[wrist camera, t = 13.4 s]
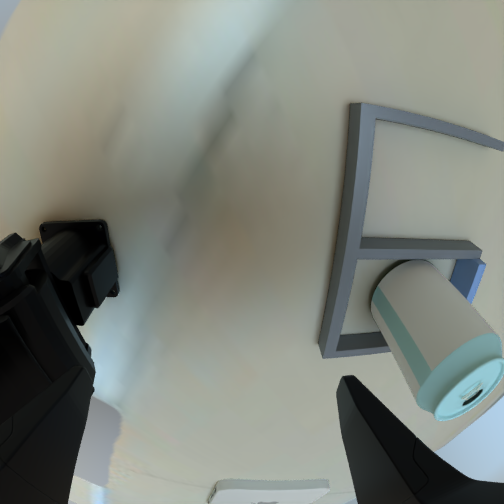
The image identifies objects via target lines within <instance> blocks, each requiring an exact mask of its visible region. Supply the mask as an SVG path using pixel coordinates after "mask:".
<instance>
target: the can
mask: <svg viewBox="0 0 504 504" xmlns="http://www.w3.org/2000/svg"><path fill="white" fill-rule="evenodd" d="M371 313H372V316H373V318H374V320H375V322H376V323H377V325H378V327H379V329H380V331H381V333H382V335H383V336H384V338H385V340H386V342H387V344H388V346H389V348H390V350H391V352H392V354H393V356H394V358H395V359H396V361H397V363H398V365H399V367H400V369H401V371H402V373H403V375H404V377H405V379H406V382H407V384H408V386H409V388H410V390H411V392H412V394H413V396H414V398H415V400H416V403H417V404H418V406H419V407H420V408H422V409H423V410H426V411H428V412H431V413H433V414H434V418H435V419H436V420H438V421H447V420H451V419H454V418H456V417H459V416H461V415H463V414H464V413H466V412H468V411H469V410H471V409H472V408H474V407H475V406H476V405H478V404H479V403H480V402H481V401H483V400H484V399H485V398H486V397H487V396H488V395H489V394H490V393H491V392H492V391H493V389H494V388H495V387H496V386H497V384H498V383H499V382H500V380H501V378H502V377H503V375H504V359H503V358H502V343H501V340H500V337H499V336H498V335H497V333H496V332H495V331H494V330H493V329H492V327H491V326H490V325H489V324H488V323H487V322H486V320H485V319H484V318H483V317H482V316H481V315H480V314H479V313H478V311H477V310H476V309H475V308H474V307H473V306H472V305H471V304H470V303H469V301H468V300H467V299H466V298H465V297H464V296H463V295H462V294H461V293H460V292H459V291H458V290H457V289H456V288H455V287H454V286H453V284H452V283H451V282H450V281H449V280H448V279H447V278H446V277H445V276H444V275H443V274H442V273H441V272H440V271H439V270H438V269H437V268H436V267H435V266H434V265H432V264H431V263H430V262H427V261H424V260H412V261H408V262H405V263H403V264H401V265H399V266H397V267H395V268H394V269H393V270H391V271H390V272H389V273H388V274H387V275H386V276H385V277H384V278H383V279H382V280H381V282H380V283H379V285H378V286H377V288H376V290H375V292H374V294H373V297H372V301H371Z"/></svg>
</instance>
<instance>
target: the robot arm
mask: <svg viewBox="0 0 504 504" xmlns="http://www.w3.org/2000/svg"><path fill="white" fill-rule="evenodd" d="M98 225H101V226H102V229H100V228H99V226H98ZM44 227H45V228H46V230H45V229H44ZM39 230H40V234H41V238H42V243H43V244H42V245H41V242H40V240H39V238H37V239H33V240H27V241H25V238H24V239H23V238H22V237H20V236H19V235H18V234H17V233H13V234H10V235H8V236H7V237H6V238H4V239H3V240H2V241H0V504H68V499H69V494H70V489H71V484H72V479H73V473H74V469H75V464H76V460H77V456H78V452H79V448H80V444H81V440H82V436H83V433H84V429H85V425H86V421H87V416H88V410H89V405H90V399H91V396H92V394H93V392H94V390H95V389H94V387H93V382H94V377H95V373H96V371H95V366H94V362H93V360H92V359H91V348H90V346H89V345H88V343H86V342H85V340H84V338H83V337H82V335H81V333H80V331H79V329H78V328H77V326H76V325H79V326H83V325H84V324H85V322H86V321H87V319H88V318H89V316H90V314H91V313H92V311H93V310H94V308H99V307H100V305H101V304H102V302H103V301H104V299H105V297H116V296H118V294H119V292H120V290H119V285H118V281H117V279H118V272H117V267H116V263H115V257H114V252H113V249H112V247H111V246H110V240H109V235H108V228H107V224H106V222H105V221H103V220H76V221H54V222H44V223H42V224H41V225H40V227H39ZM111 289H112V290H114V291H115V292H113V291H112V290H111ZM336 397H337V404H338V412H339V420H340V428H341V434H342V439H343V443H344V447H345V451H346V455H347V459H348V463H349V467H350V472H351V476H352V480H353V485H354V489H355V493H356V498H357V502H358V504H504V483H498V482H487V481H479V480H474V479H471V478H469V477H467V476H465V475H464V474H462V473H461V472H459V471H458V470H456V469H455V468H454V467H452V466H451V465H450V464H448V463H447V462H446V461H444V460H443V459H441V458H440V457H439V456H438V455H437V454H435V453H434V452H433V451H432V450H431V449H429V448H428V447H427V446H426V445H425V444H424V443H423V442H422V441H421V440H420V439H419V438H418V437H417V438H416V436H415V435H414V434H413V433H412V432H411V431H410V430H409V429H408V428H407V427H406V426H405V425H404V424H403V423H402V422H401V421H400V420H399V419H398V418H397V417H396V416H395V415H394V414H393V413H392V412H391V411H390V410H389V409H388V408H387V407H386V406H385V405H384V404H383V403H382V402H381V401H380V400H379V399H378V398H377V397H376V396H374V395H373V394H372V393H371V392H370V391H369V390H368V389H367V388H366V387H365V386H364V385H363V384H362V383H361V382H360V381H359V380H358V379H357V378H356V377H355V376H354V375H347V376H343V377H342V378H341V380H340V383H339V386H338V388H337V392H336Z"/></svg>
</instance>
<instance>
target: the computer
mask: <svg viewBox="0 0 504 504" xmlns="http://www.w3.org/2000/svg"><path fill="white" fill-rule="evenodd" d="M329 491H330V486H329V480H327V479H306V480H250V479H224V480H220V481H218V482H217V484H216V486H215V488H214V490H213V492H212V494H211V495H210V497H209V499H208V504H311V503H313V502H315V501H316V500H318V499H319V498H321V497H322V496H324V495H325V494H326V493H328V492H329Z"/></svg>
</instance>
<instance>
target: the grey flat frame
mask: <svg viewBox="0 0 504 504" xmlns="http://www.w3.org/2000/svg"><path fill="white" fill-rule="evenodd" d="M375 119H378V120H384V121H389V122H395V123H400V124H405V125H409V126H414V127H418V128H423V129H427V130H431V131H435V132H439V133H443V134H447V135H450V136H454V137H457V138H461V139H464V140H467V141H471V142H474V143H477V144H480V145H483V146H486V147H489V148H493V149H496V150H499V151H503V150H504V142H502V141H500V140H497V139H495V138H492V137H489V136H487V135H484V134H481V133H478V132H476V131H473V130H470V129H467V128H464V127H461V126H457V125H454V124H451V123H447V122H444V121H441V120H437V119H433V118H430V117H426V116H422V115H418V114H414V113H410V112H405V111H401V110H396V109H392V108H387V107H382V106H376V105H371V104H365V103H350V116H349V132H348V146H347V158H346V169H345V179H344V188H343V197H342V206H341V214H340V222H339V229H338V236H337V243H336V250H335V256H334V262H333V269H332V275H331V280H330V286H329V292H328V297H327V302H326V308H325V313H324V318H323V323H322V328H321V332H320V337H319V342H318V344H319V347H320V351H321V354H322V358H323V359H325V358H338V357H349V356H360V355H369V354H377V353H385V352H391V350H390V348H389V346H388V344H387V342H386V340H385V338H384V336H383V335H382V333H381V332H376V333H365V334H352V335H340V333H341V329H342V326H343V322H344V318H345V313H346V309H347V305H348V301H349V296H350V292H351V287H352V283H353V278H354V273H355V268H356V263H357V259H457V262H456V265H455V268H454V271H453V274H452V277H451V280H450V282H451V283H452V284H453V286H454V287H455V288H456V289H457V290H458V291H459V292H460V293H461V294H462V295H463V296H464V297H465V298H466V299H467V300H468V301H469V303H470V304H471V303H472V301H473V299H474V296H475V294H476V291H477V289H478V286H479V283H480V281H481V278H482V275H483V272H484V269H485V267H486V264H485V263H484V262H483V261H482V260H481V259H480V257H481V253H482V250H481V249H480V248H478V247H477V246H476V245H474V244H473V243H472V242H470V241H459V240H433V239H404V238H369V237H361V236H362V230H363V224H364V218H365V212H366V205H367V198H368V190H369V182H370V174H371V165H372V155H373V145H374V133H375Z"/></svg>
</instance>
